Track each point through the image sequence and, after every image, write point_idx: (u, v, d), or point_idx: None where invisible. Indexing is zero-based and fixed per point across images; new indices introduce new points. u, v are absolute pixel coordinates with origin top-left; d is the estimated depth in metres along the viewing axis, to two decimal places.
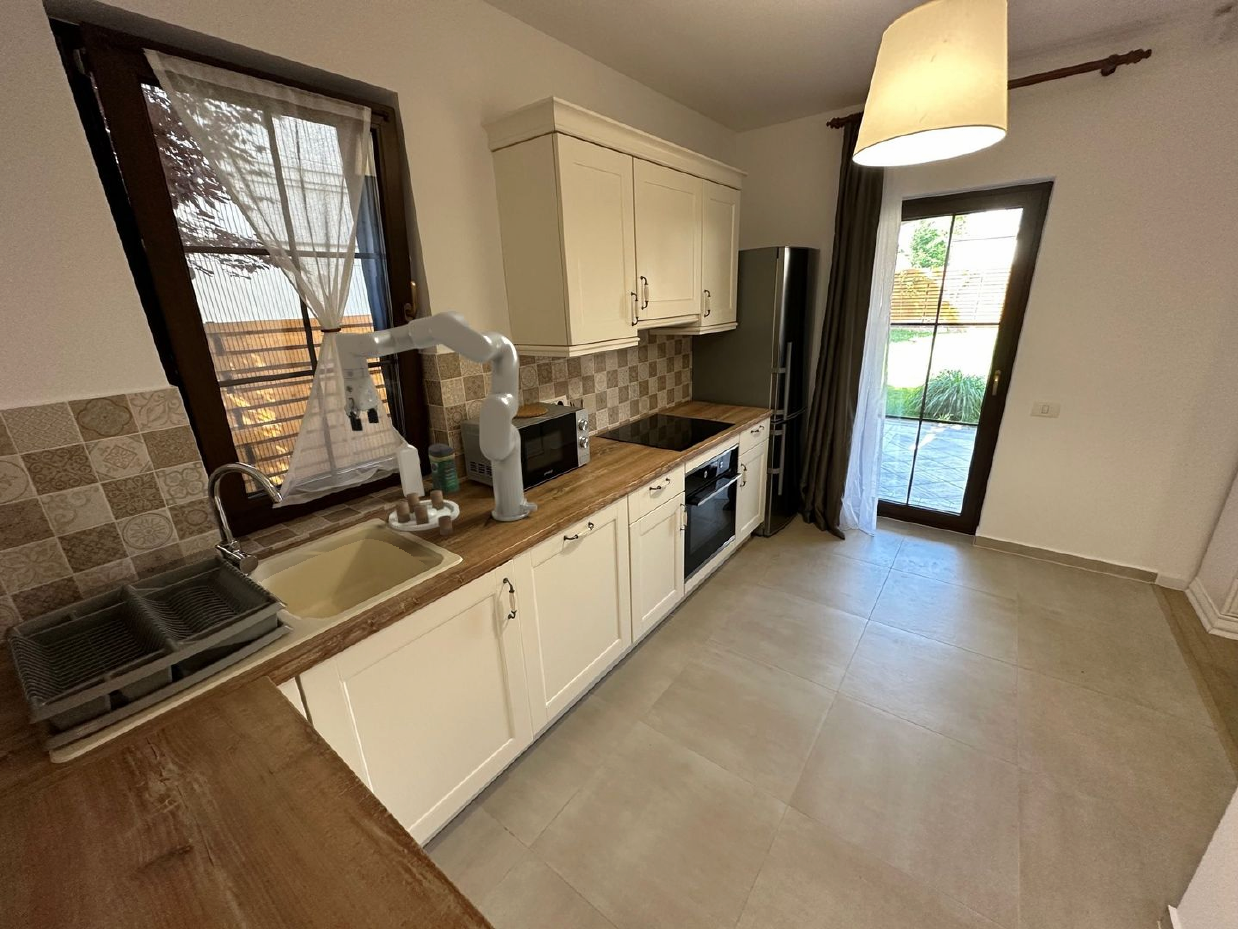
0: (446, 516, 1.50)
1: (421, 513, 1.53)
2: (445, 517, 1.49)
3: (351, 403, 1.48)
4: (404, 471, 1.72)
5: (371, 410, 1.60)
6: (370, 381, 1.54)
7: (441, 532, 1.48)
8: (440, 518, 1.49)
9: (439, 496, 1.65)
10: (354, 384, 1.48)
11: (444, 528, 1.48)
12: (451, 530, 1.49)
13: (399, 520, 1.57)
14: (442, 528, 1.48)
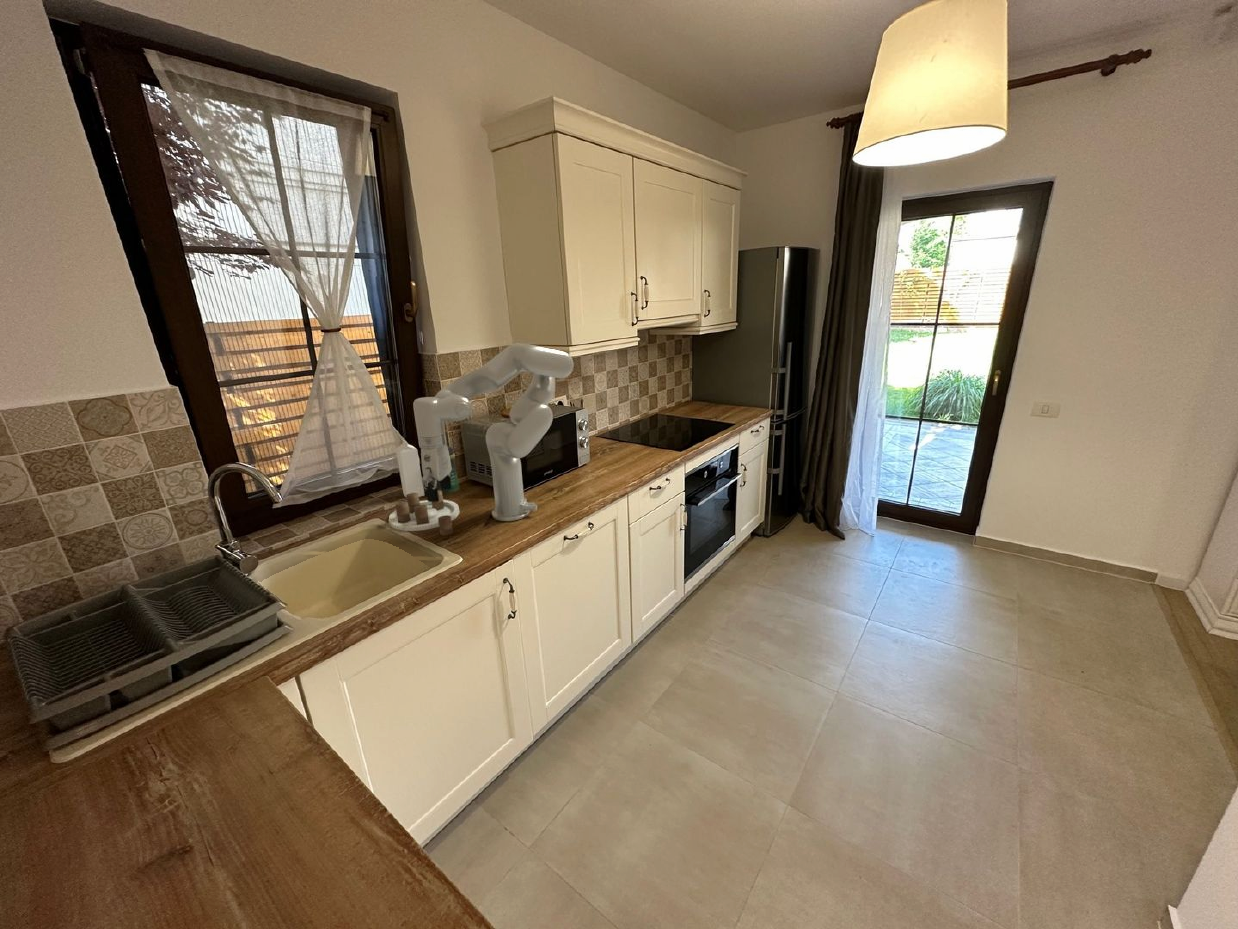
0: (446, 516, 1.50)
1: (421, 513, 1.53)
2: (445, 517, 1.49)
3: (429, 473, 1.37)
4: (404, 471, 1.72)
5: None
6: (446, 447, 1.44)
7: (441, 532, 1.48)
8: (440, 517, 1.49)
9: (439, 496, 1.65)
10: (432, 453, 1.37)
11: (444, 528, 1.48)
12: (451, 530, 1.49)
13: (399, 520, 1.57)
14: (442, 528, 1.48)
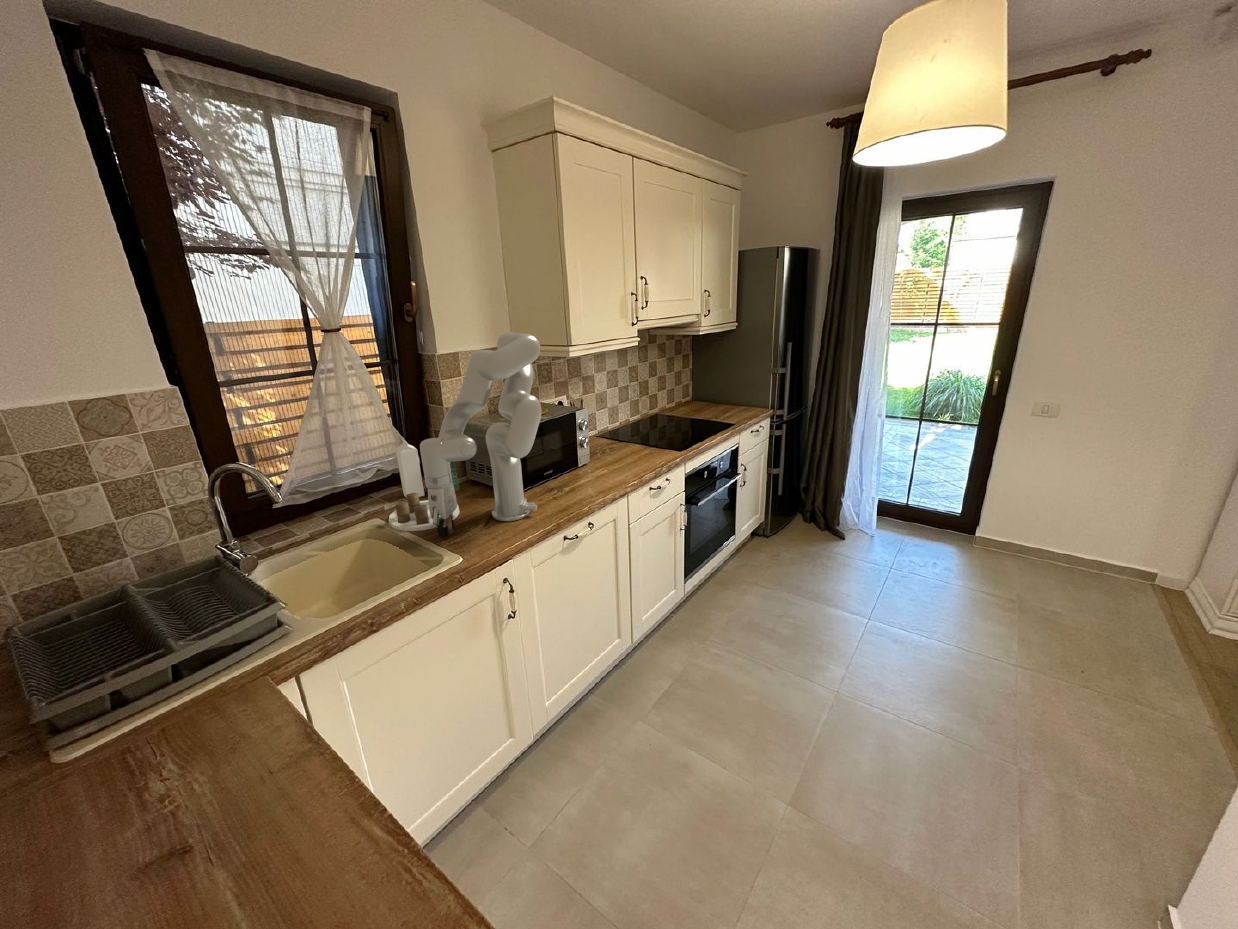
0: None
1: (421, 513, 1.53)
2: None
3: (437, 519, 1.42)
4: (404, 471, 1.72)
5: None
6: (451, 485, 1.48)
7: None
8: None
9: None
10: (439, 493, 1.41)
11: None
12: (451, 530, 1.49)
13: (399, 520, 1.57)
14: None
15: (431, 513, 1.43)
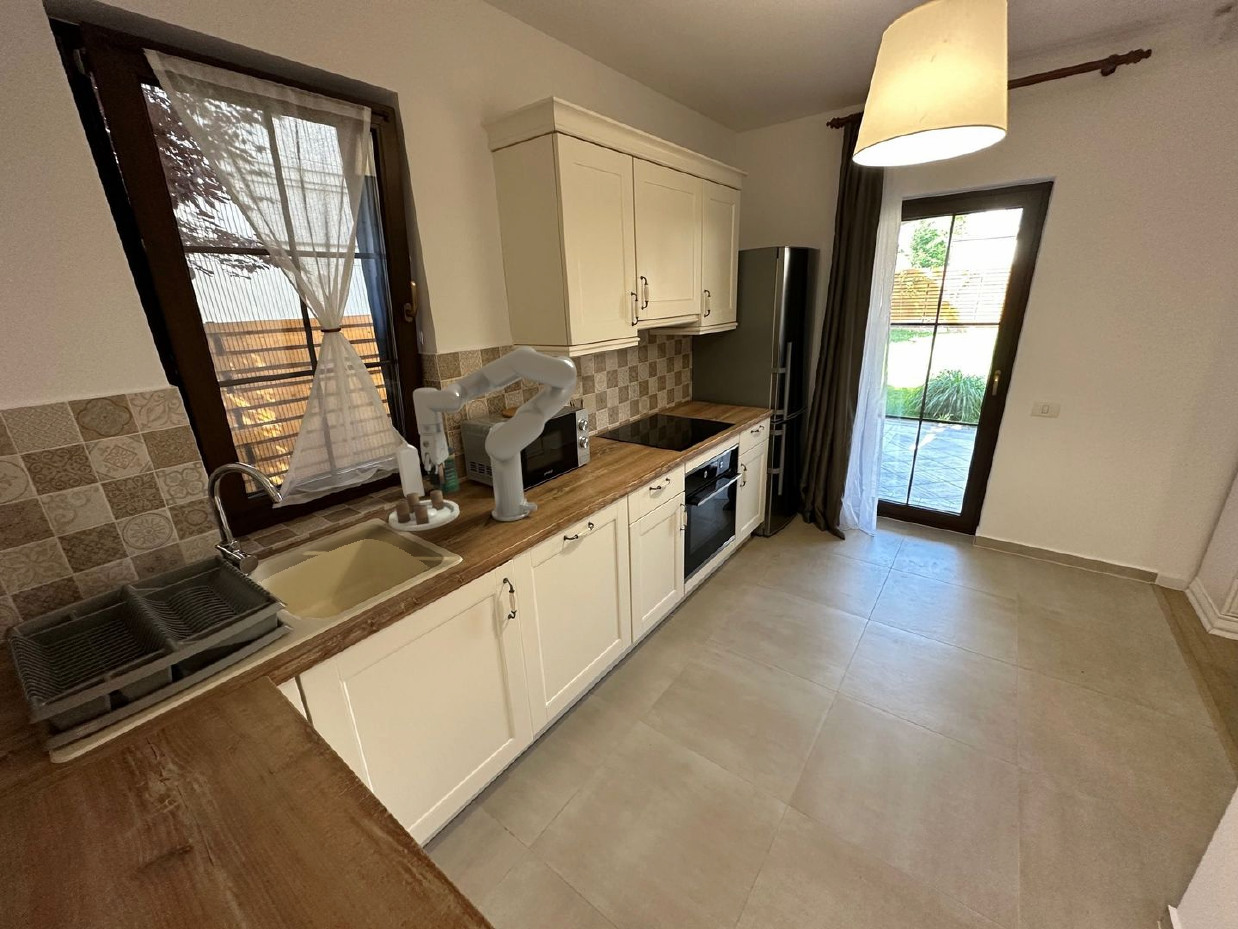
0: None
1: (421, 513, 1.53)
2: None
3: (429, 464, 1.50)
4: (404, 471, 1.72)
5: None
6: (443, 434, 1.55)
7: None
8: None
9: (439, 496, 1.65)
10: (430, 439, 1.48)
11: None
12: (442, 478, 1.57)
13: (399, 520, 1.57)
14: None
15: (423, 459, 1.50)
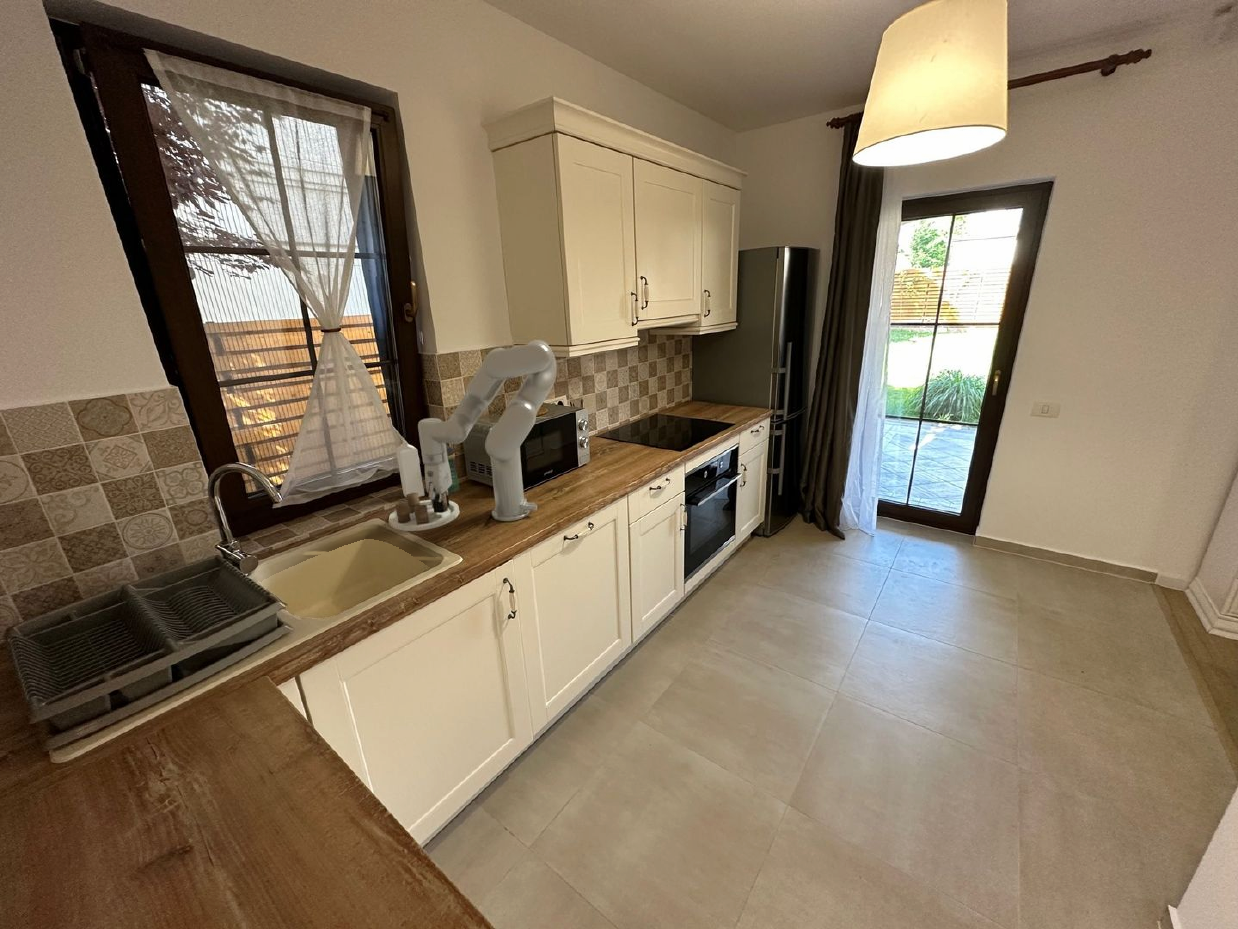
0: None
1: (421, 513, 1.53)
2: None
3: (433, 493, 1.53)
4: (404, 471, 1.72)
5: None
6: (447, 463, 1.58)
7: None
8: None
9: None
10: (435, 469, 1.52)
11: None
12: (445, 505, 1.60)
13: (399, 520, 1.57)
14: None
15: (427, 488, 1.53)
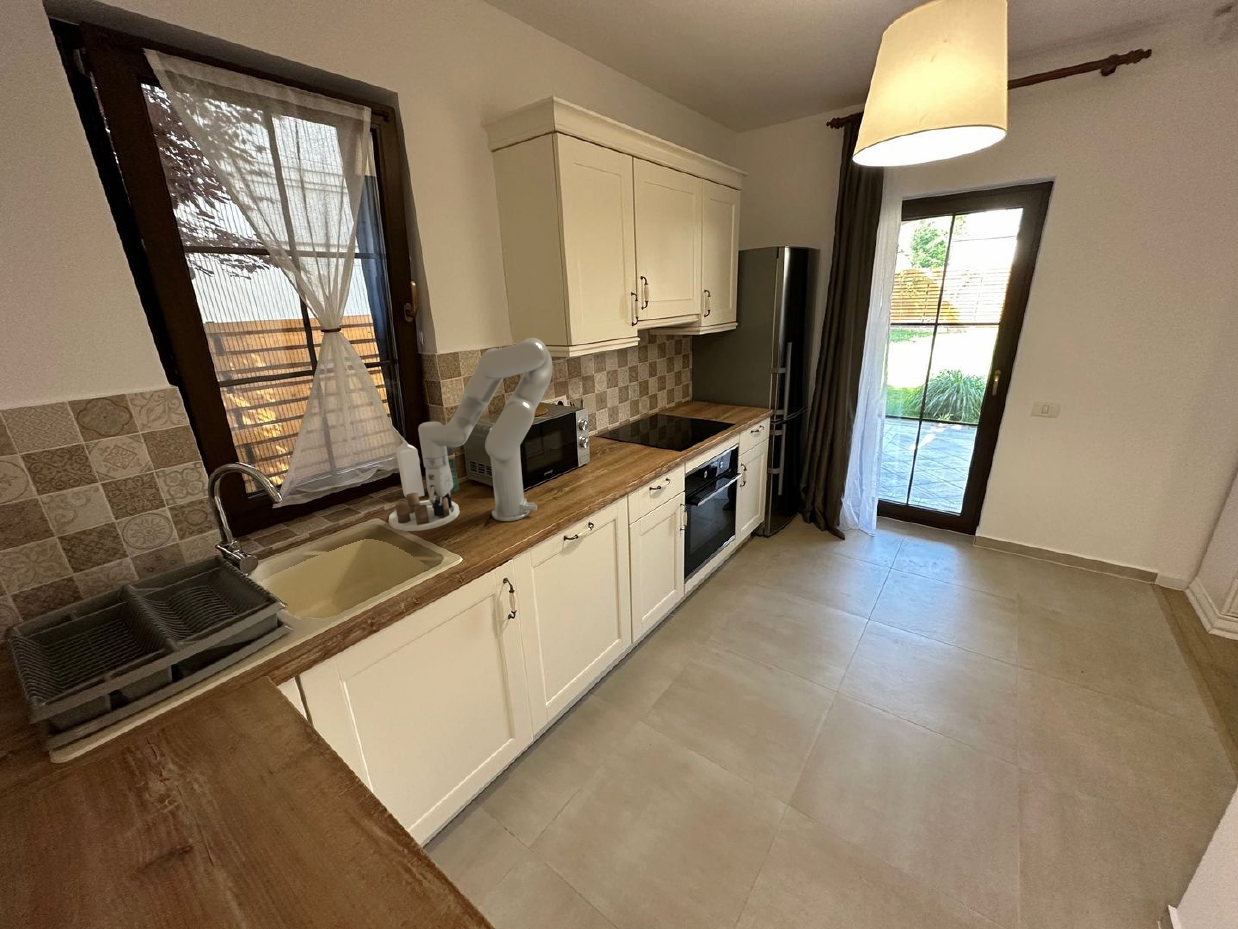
0: (443, 498, 1.61)
1: (421, 513, 1.53)
2: None
3: (434, 495, 1.53)
4: (404, 471, 1.72)
5: (445, 495, 1.63)
6: (448, 466, 1.59)
7: None
8: (437, 499, 1.60)
9: None
10: (436, 472, 1.52)
11: None
12: (447, 511, 1.61)
13: (399, 520, 1.57)
14: None
15: (429, 491, 1.54)
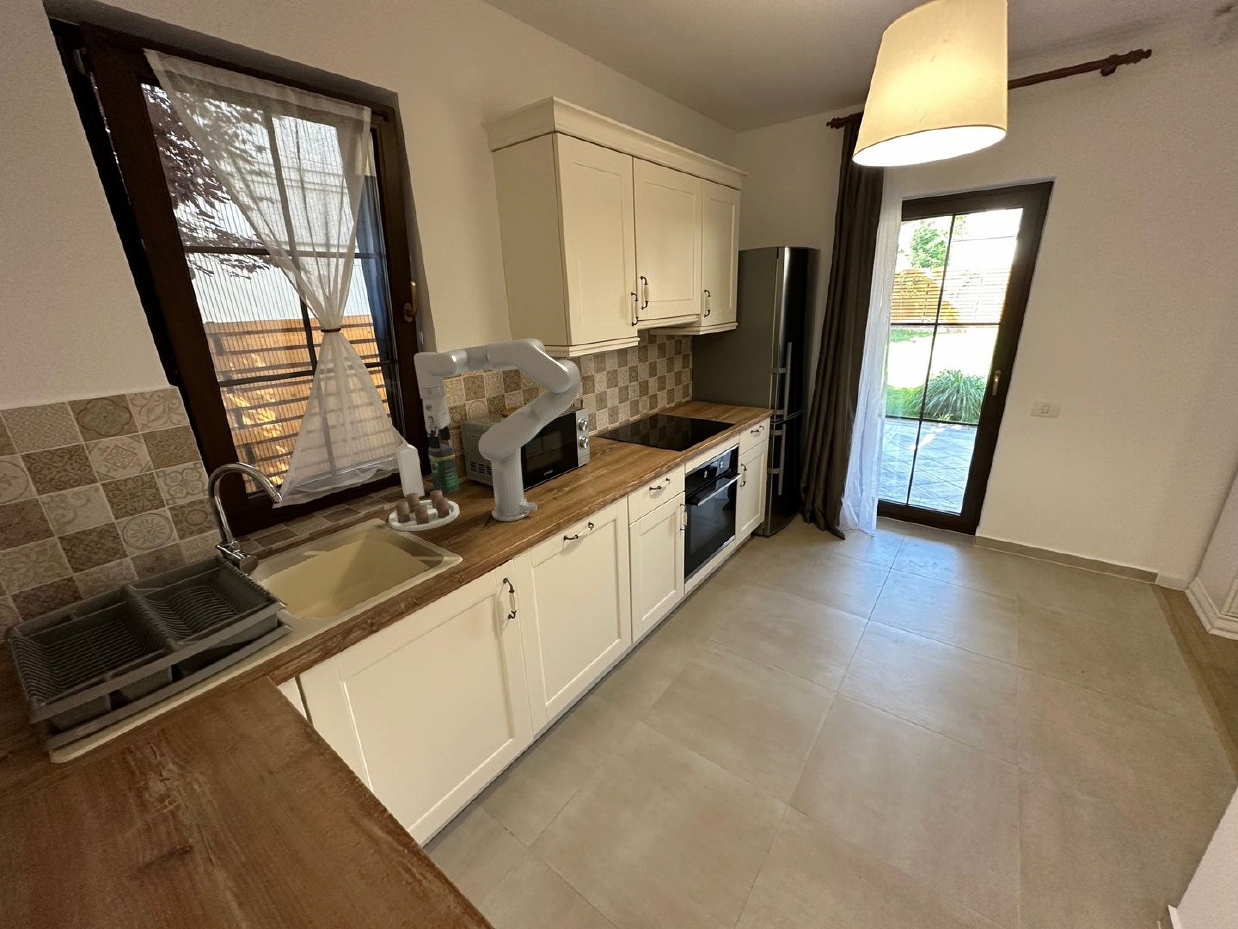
0: (443, 498, 1.61)
1: (421, 513, 1.53)
2: (441, 498, 1.60)
3: (431, 421, 1.50)
4: (404, 471, 1.72)
5: (443, 427, 1.62)
6: (445, 399, 1.57)
7: (438, 512, 1.60)
8: (437, 499, 1.60)
9: (439, 496, 1.65)
10: (433, 403, 1.50)
11: (441, 509, 1.59)
12: (447, 511, 1.61)
13: (399, 520, 1.57)
14: (439, 508, 1.59)
15: None
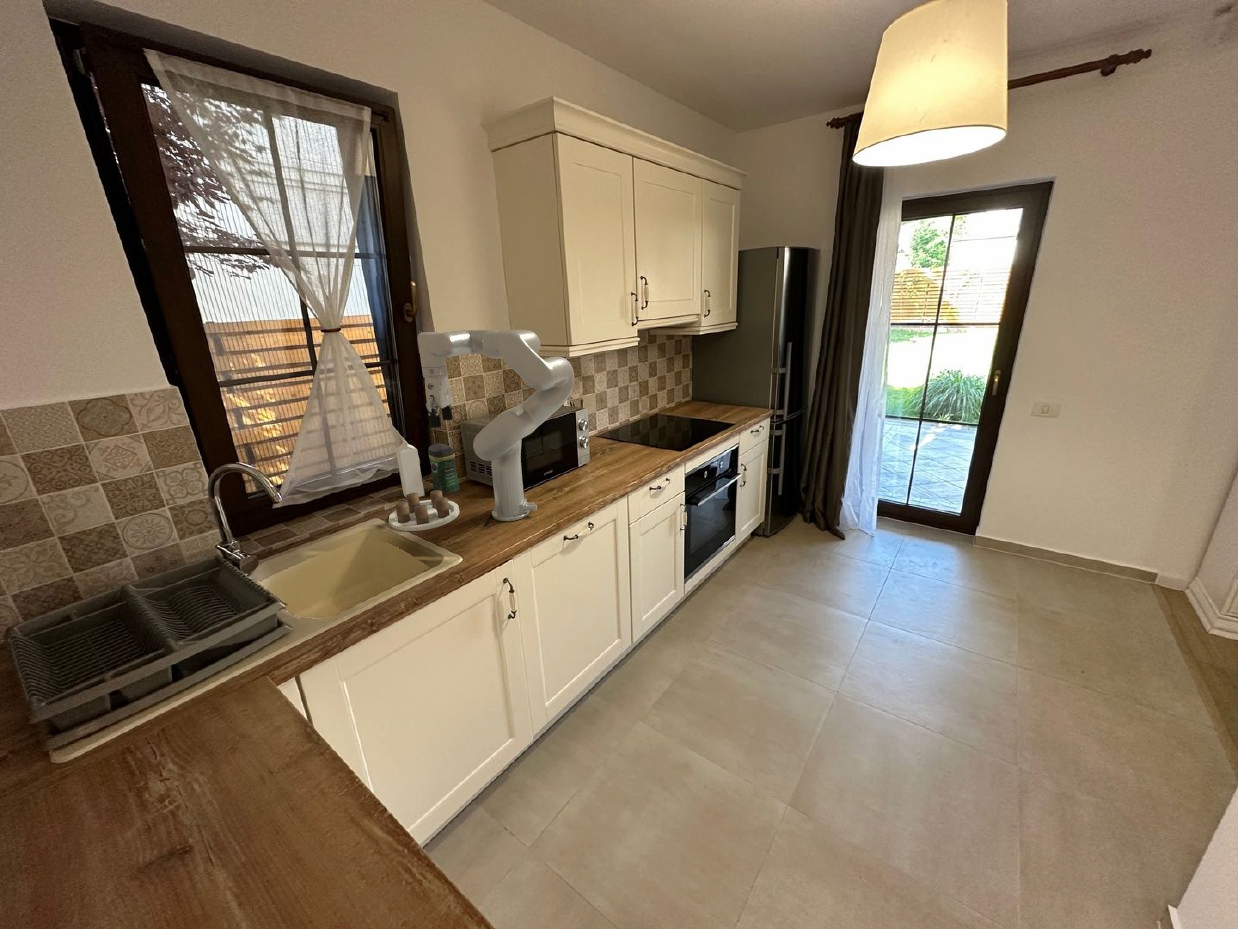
0: (443, 498, 1.61)
1: (421, 513, 1.53)
2: (441, 498, 1.60)
3: (432, 400, 1.53)
4: (404, 471, 1.72)
5: (446, 407, 1.65)
6: (447, 379, 1.59)
7: (438, 512, 1.60)
8: (437, 499, 1.60)
9: (439, 496, 1.65)
10: (435, 382, 1.53)
11: (441, 509, 1.59)
12: (447, 511, 1.61)
13: (399, 520, 1.57)
14: (439, 508, 1.59)
15: None
